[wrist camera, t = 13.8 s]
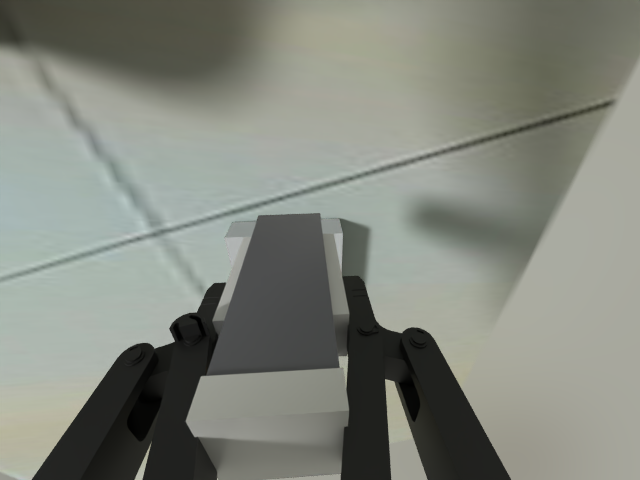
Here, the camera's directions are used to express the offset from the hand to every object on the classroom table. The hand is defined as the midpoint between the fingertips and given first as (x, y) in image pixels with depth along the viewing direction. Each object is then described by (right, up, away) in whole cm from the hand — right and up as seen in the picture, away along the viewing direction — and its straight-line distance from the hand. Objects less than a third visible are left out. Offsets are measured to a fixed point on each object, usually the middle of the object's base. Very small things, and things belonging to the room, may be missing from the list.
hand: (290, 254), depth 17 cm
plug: (0, +1, +1) cm, 2 cm away
